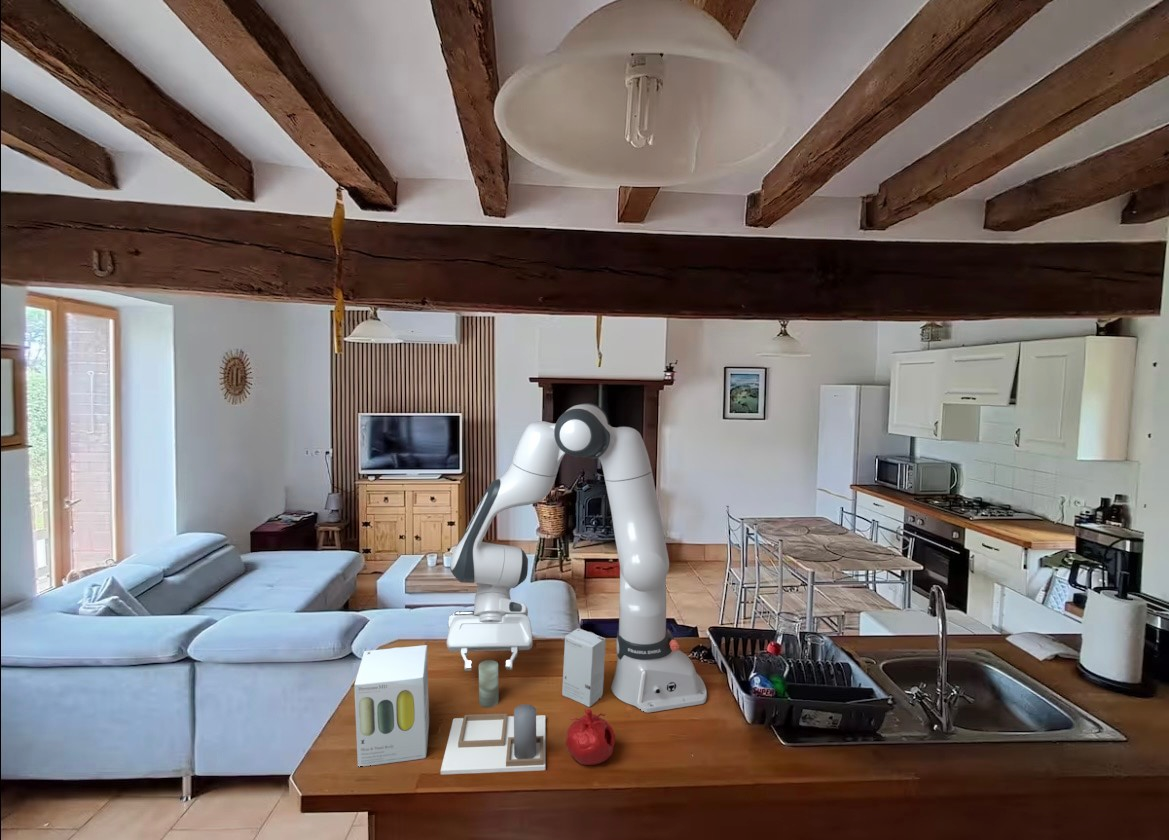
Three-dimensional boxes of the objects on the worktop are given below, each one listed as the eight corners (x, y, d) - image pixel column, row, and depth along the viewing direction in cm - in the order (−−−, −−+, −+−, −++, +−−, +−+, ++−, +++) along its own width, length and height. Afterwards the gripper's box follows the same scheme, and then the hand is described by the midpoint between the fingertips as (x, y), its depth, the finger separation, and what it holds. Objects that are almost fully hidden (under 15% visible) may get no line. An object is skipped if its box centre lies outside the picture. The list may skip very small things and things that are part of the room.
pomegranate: (572, 777, 112) (571, 732, 111) (560, 742, 121) (560, 701, 120) (621, 766, 114) (621, 723, 113) (606, 733, 124) (606, 693, 123)
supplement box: (356, 769, 113) (352, 684, 111) (366, 726, 126) (363, 649, 124) (426, 759, 116) (424, 676, 114) (429, 718, 129) (427, 643, 127)
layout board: (545, 718, 129) (545, 676, 128) (545, 770, 113) (545, 723, 112) (453, 721, 128) (452, 679, 127) (440, 774, 112) (439, 726, 111)
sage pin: (499, 695, 138) (498, 659, 136) (497, 707, 133) (497, 669, 132) (480, 696, 137) (479, 660, 136) (478, 707, 133) (477, 670, 132)
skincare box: (561, 696, 138) (561, 636, 136) (576, 684, 143) (576, 626, 141) (591, 708, 133) (591, 646, 131) (605, 696, 138) (606, 636, 136)
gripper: (447, 606, 141) (441, 666, 132) (532, 605, 142) (531, 664, 134) (450, 615, 146) (444, 674, 137) (533, 614, 147) (532, 672, 139)
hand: (488, 669), depth 135 cm, fingers open, 8 cm apart
